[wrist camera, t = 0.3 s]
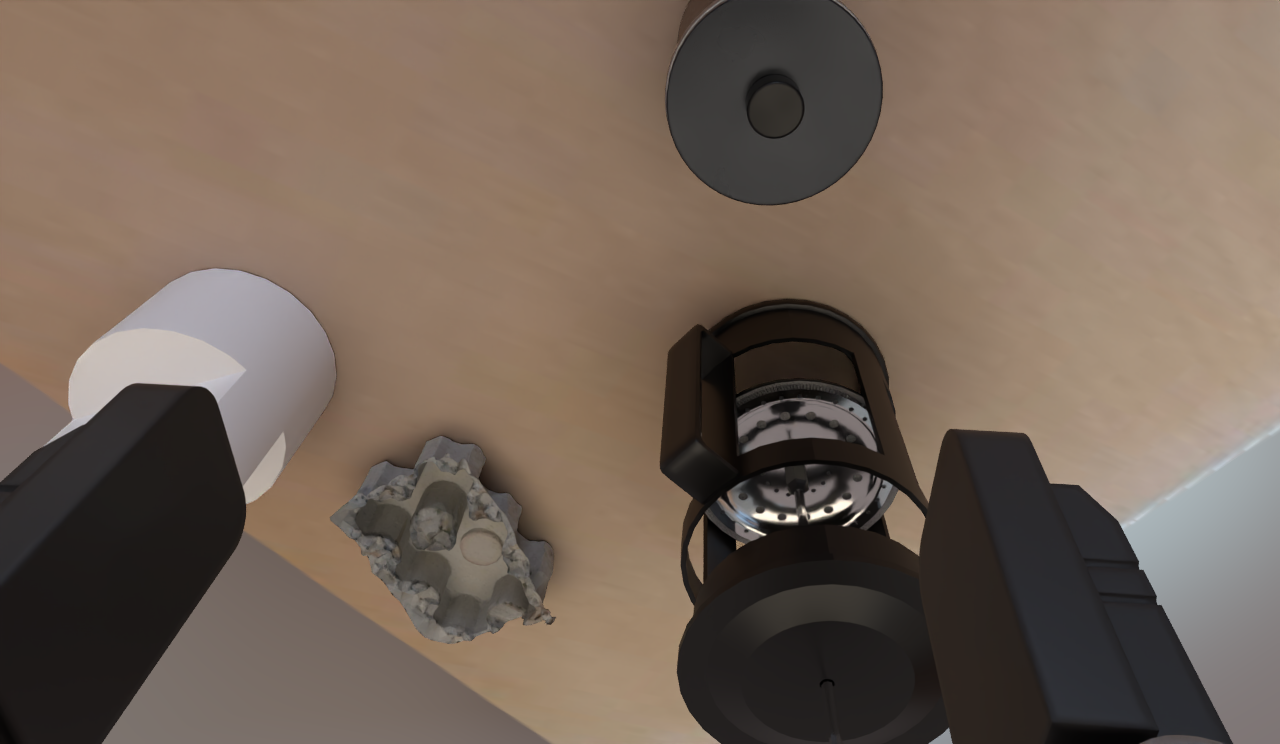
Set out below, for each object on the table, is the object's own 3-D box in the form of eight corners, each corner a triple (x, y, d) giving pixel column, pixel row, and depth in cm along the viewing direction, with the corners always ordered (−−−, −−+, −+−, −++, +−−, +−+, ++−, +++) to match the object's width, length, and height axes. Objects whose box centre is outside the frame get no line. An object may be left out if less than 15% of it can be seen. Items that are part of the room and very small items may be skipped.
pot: (670, -43, 33) (657, -5, 24) (844, -52, 33) (900, -17, 24) (676, 130, 36) (667, 222, 27) (836, 123, 36) (882, 215, 27)
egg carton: (573, 573, 48) (564, 630, 45) (453, 612, 50) (434, 670, 47) (473, 417, 44) (453, 467, 40) (344, 467, 46) (314, 519, 42)
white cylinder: (210, 454, 46) (65, 629, 35) (107, 298, 42) (-91, 444, 31) (369, 412, 44) (265, 583, 34) (277, 244, 40) (126, 380, 30)
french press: (940, 398, 42) (1157, 894, 22) (789, 513, 45) (855, 1027, 25) (760, 230, 38) (820, 635, 18) (613, 370, 42) (529, 833, 22)
